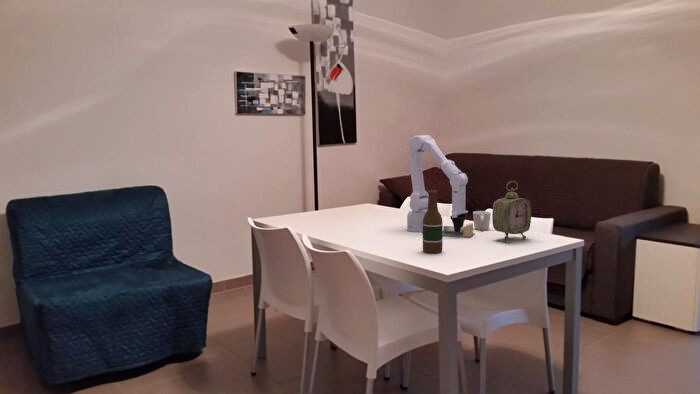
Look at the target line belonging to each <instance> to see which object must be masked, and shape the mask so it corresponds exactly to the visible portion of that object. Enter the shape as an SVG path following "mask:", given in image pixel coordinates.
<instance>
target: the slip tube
mask: <svg viewBox="0 0 700 394" xmlns="http://www.w3.org/2000/svg"><path fill="white" fill-rule="evenodd" d="M463 229H464V226H463V227H461V230H460V232H455V230H454V225H443V228H442V231H443V232H444V233H458V234H463Z"/></svg>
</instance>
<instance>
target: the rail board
mask: <svg viewBox="0 0 700 394" xmlns="http://www.w3.org/2000/svg"><path fill="white" fill-rule="evenodd" d="M463 227H464V229H463V234H458V233H444V232H443V230H442V237H449V238H464V239H465V238H466V239H471V238H473V236H475V235H476V234H475V233H474V222H473V223H472V222H471V223H470V222H469V223H468V224H465V225H463Z"/></svg>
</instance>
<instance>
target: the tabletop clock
mask: <svg viewBox="0 0 700 394" xmlns="http://www.w3.org/2000/svg"><path fill="white" fill-rule="evenodd" d="M512 183H514V184H516V187H515V188H514V187H511V188H510V189H508V185H510V184H512ZM505 186H506V187H505V188H506V190H507V193H506V195H505V197H502V198H499V199H496V200H494V202H493V205H492V213H491V215H492V217H491V218H492V228H493V229H494V230H495V231H496V232H500V233H504V242H505V243H509V238H510V237H509V234H510V235H521V236H522V240H526V239H527V236H526V235H524V233H526V232H528V231H529V230H530V228H531V222H532V204H531V201H530V199H528V198H521V197H519V195H518V193H517V192H515V191H517V189H518V188H519V184H518V182H517V181H516V180H510V181H508V182H507V183H506V185H505Z"/></svg>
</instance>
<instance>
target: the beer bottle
mask: <svg viewBox="0 0 700 394" xmlns="http://www.w3.org/2000/svg"><path fill="white" fill-rule="evenodd" d="M427 193H428V209H427V212H426V214H425V215H424V218H423V232H422V252H423V253H425V254H431V255H432V254H433V255H435V254H441V253H442V252H443V236H442V231H443V227H444V225H443V218H442V215H441V213H440V212H439V208H438V191H437V189H429V190H428V191H427Z"/></svg>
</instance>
